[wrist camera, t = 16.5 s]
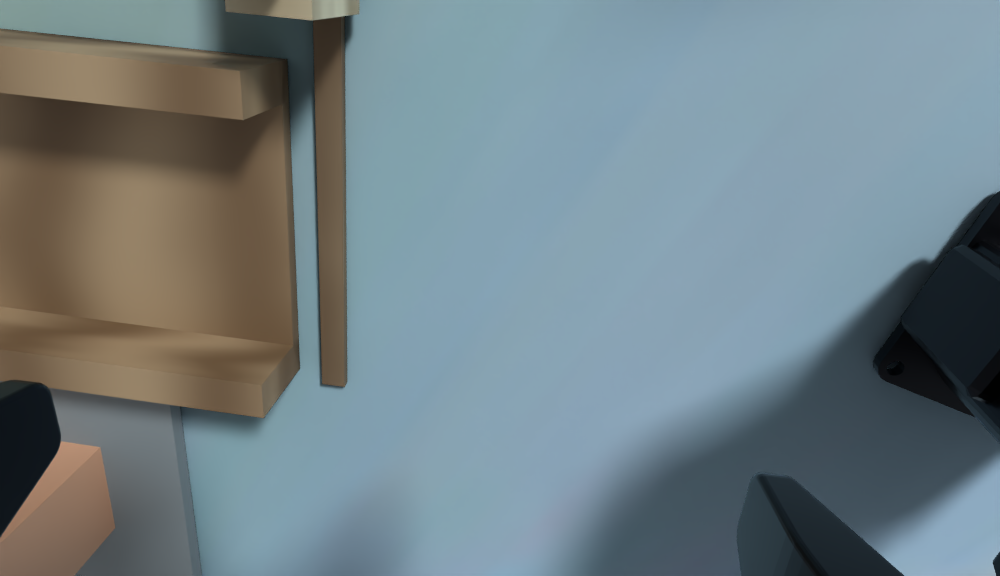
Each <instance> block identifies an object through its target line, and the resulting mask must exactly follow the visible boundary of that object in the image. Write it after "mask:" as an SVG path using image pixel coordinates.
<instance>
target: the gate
mask: <svg viewBox="0 0 1000 576" xmlns="http://www.w3.org/2000/svg"><path fill="white" fill-rule="evenodd" d="M225 8H226V12H234V13H244V14H254V15H264V16H273V17H283V18H293V19H303V20H320V19H327V18H334V17H342V16H349V15H356V14H359V0H225Z"/></svg>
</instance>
